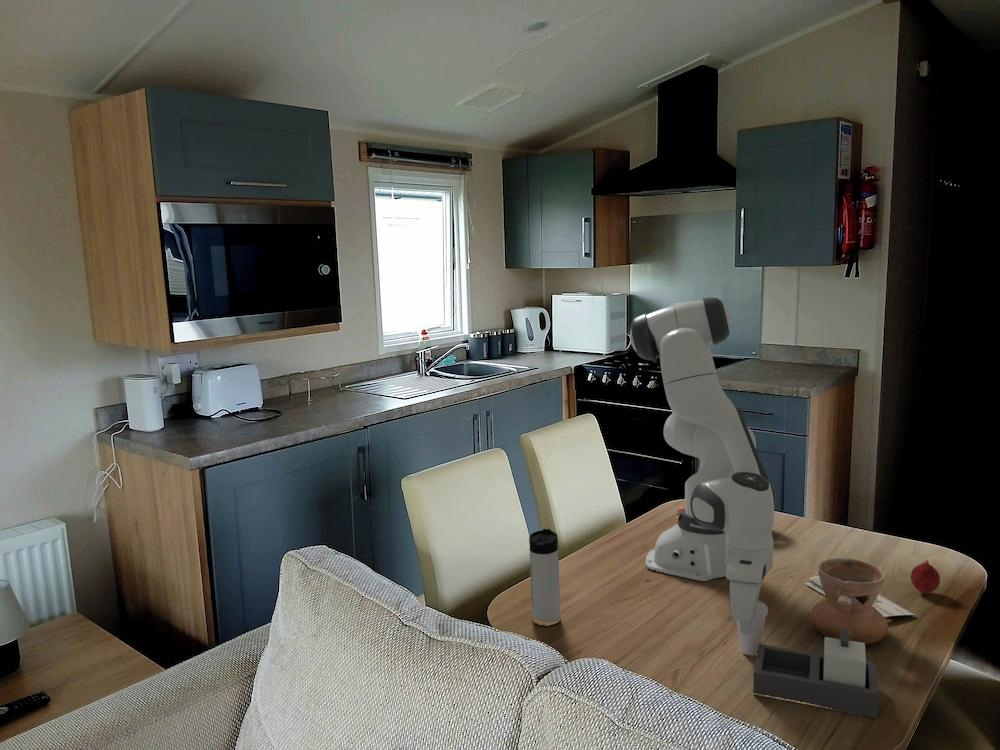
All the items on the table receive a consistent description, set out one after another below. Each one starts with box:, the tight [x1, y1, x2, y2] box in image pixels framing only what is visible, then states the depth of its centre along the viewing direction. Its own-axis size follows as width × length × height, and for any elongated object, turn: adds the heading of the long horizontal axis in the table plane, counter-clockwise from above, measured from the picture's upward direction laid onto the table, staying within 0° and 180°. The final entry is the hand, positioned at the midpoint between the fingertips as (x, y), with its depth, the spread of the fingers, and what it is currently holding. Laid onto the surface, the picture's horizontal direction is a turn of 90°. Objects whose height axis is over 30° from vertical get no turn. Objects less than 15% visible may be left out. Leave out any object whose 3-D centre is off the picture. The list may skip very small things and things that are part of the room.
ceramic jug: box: [809, 557, 889, 645], centre depth 155 cm, size 18×14×14 cm
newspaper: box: [804, 575, 917, 623], centre depth 169 cm, size 23×12×2 cm, turn 14°
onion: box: [910, 559, 941, 595], centre depth 170 cm, size 6×6×8 cm
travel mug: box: [528, 528, 561, 622], centre depth 165 cm, size 6×7×20 cm
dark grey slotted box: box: [753, 629, 879, 719], centre depth 139 cm, size 20×16×10 cm
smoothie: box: [736, 600, 769, 655], centre depth 149 cm, size 6×6×14 cm
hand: (748, 622), depth 149 cm, fingers open, 7 cm apart
